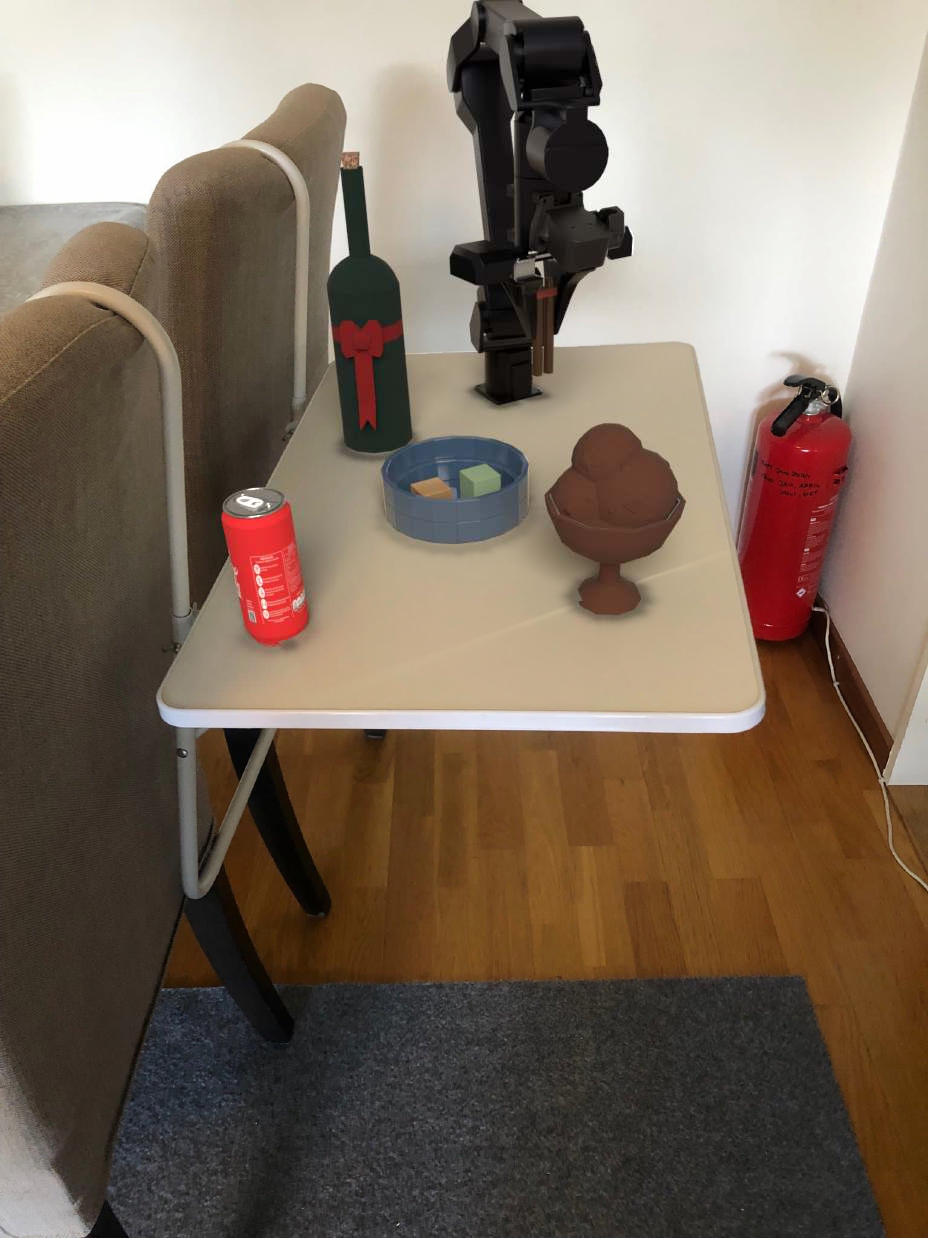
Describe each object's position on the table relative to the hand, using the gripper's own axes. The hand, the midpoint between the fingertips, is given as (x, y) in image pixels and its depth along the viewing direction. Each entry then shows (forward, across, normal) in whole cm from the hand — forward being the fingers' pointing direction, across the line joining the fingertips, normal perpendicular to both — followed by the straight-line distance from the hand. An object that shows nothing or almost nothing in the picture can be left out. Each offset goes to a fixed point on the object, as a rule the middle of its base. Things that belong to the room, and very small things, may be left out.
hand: (542, 336), depth 97 cm
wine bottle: (+12, -16, +10) cm, 22 cm away
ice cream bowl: (+13, -12, -29) cm, 34 cm away
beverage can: (+13, -38, -18) cm, 44 cm away
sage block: (+12, -13, -9) cm, 19 cm away
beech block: (+12, -18, -8) cm, 23 cm away
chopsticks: (+4, 0, 0) cm, 4 cm away
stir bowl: (+12, -16, -8) cm, 22 cm away
